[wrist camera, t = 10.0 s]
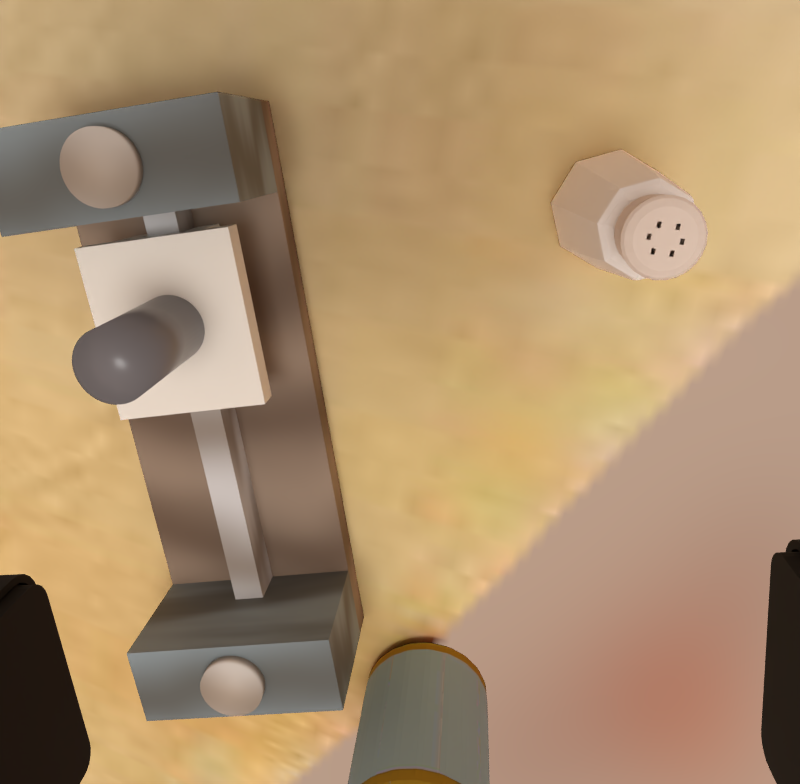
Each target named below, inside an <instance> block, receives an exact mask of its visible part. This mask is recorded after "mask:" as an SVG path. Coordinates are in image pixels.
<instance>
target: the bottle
mask: <svg viewBox="0 0 800 784" xmlns="http://www.w3.org/2000/svg"><path fill="white" fill-rule="evenodd" d="M487 713H488V712H487V697H486V686H485V682H484V680H483V678H482V676H481V674H480V672H479V670H478V669H477V667H476V666H475V665H474V664H473V663H472V662H471V661H470V660H469V659H468V658H467V657H466V656H464V655H463V654H461V653H459V652H457V651H455V650H453V649H452V648H449V647H447V646H443V645H438V644H434V643H412V644H407V645H404V646H401V647H398V648H395V649H393V650H391V651H390V652H388V653H387V654H386V655H384V656H383V657H381V658H380V659H379V660H378V661H377V663H376V664H375V666H374V667H373V669H372V670H371V672H370V675H369V679H368V683H367V687H366V691H365V696H364V702H363V707H362V712H361V717H360V722H359V728H358V733H357V738H356V743H355V749H354V754H353V759H352V764H351V769H350V775H349V780H348V784H490V783H489V749H488V714H487Z"/></svg>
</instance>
